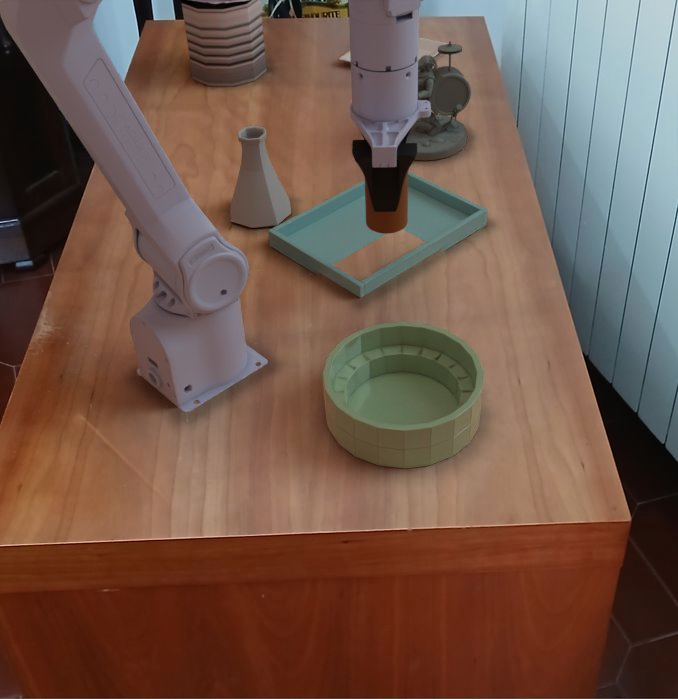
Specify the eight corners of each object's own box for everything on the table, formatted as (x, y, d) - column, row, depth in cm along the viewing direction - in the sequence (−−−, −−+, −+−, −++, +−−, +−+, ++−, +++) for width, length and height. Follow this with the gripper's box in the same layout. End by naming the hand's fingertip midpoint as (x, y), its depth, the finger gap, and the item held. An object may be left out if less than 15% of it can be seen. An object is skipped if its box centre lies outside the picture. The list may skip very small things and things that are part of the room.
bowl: (404, 499, 72) (404, 456, 69) (294, 415, 80) (290, 372, 77) (511, 414, 79) (516, 371, 76) (400, 344, 86) (401, 302, 83)
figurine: (375, 124, 120) (374, 34, 112) (456, 116, 120) (461, 26, 113) (389, 164, 112) (389, 70, 104) (476, 156, 112) (482, 61, 105)
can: (178, 65, 136) (165, -18, 128) (248, 47, 140) (240, -34, 132) (207, 94, 128) (195, 8, 120) (281, 75, 132) (274, -10, 124)
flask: (283, 232, 101) (276, 151, 95) (220, 227, 103) (209, 146, 96) (299, 197, 107) (292, 118, 100) (239, 193, 108) (229, 114, 101)
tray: (360, 302, 92) (360, 286, 90) (269, 245, 100) (267, 230, 98) (486, 225, 101) (488, 209, 100) (394, 179, 109) (394, 164, 108)
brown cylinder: (386, 238, 86) (385, 145, 80) (357, 222, 89) (354, 130, 82) (416, 221, 88) (417, 129, 82) (386, 206, 91) (386, 115, 84)
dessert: (411, 82, 129) (411, 49, 125) (338, 66, 134) (336, 33, 130) (449, 50, 136) (451, 18, 133) (379, 36, 141) (379, 5, 138)
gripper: (434, 95, 72) (430, 240, 81) (429, 22, 83) (426, 157, 92) (344, 97, 72) (350, 240, 81) (351, 24, 83) (355, 158, 92)
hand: (385, 196), depth 87 cm, fingers closed on brown cylinder, 4 cm apart
